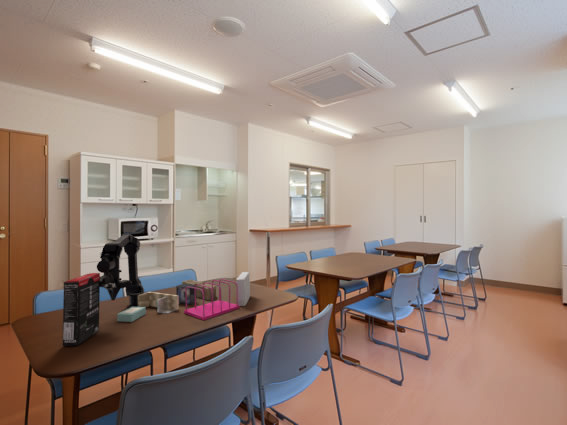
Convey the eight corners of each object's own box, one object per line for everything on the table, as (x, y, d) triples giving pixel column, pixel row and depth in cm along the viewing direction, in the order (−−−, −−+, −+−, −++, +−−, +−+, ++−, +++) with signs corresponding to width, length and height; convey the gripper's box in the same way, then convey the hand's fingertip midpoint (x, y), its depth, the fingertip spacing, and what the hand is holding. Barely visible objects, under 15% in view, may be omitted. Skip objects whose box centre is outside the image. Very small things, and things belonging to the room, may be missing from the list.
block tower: (217, 299, 196) (191, 290, 215) (217, 286, 196) (192, 278, 215) (207, 301, 190) (181, 292, 209) (207, 288, 190) (182, 280, 209)
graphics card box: (85, 331, 142) (85, 272, 142) (101, 330, 142) (100, 272, 142) (62, 347, 125) (61, 281, 125) (79, 346, 125) (79, 280, 125)
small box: (175, 303, 184) (175, 285, 184) (182, 300, 190) (182, 283, 190) (189, 305, 180) (189, 287, 180) (196, 301, 186) (196, 284, 186)
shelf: (137, 309, 173) (137, 295, 173) (149, 305, 180) (149, 291, 180) (167, 314, 164) (167, 299, 164) (178, 309, 172) (178, 295, 172)
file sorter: (183, 313, 165) (183, 285, 165) (220, 302, 185) (219, 277, 185) (203, 320, 155) (203, 290, 154) (239, 308, 174) (239, 281, 174)
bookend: (157, 312, 167) (157, 299, 167) (166, 308, 174) (166, 296, 174) (167, 314, 165) (167, 301, 165) (176, 310, 171) (176, 297, 171)
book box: (117, 321, 154) (117, 313, 154) (132, 313, 166) (132, 306, 166) (131, 322, 153) (131, 314, 153) (145, 314, 165) (145, 307, 165)
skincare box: (242, 296, 199) (242, 271, 199) (250, 296, 199) (250, 271, 199) (236, 306, 178) (235, 279, 178) (245, 306, 178) (245, 279, 178)
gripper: (83, 270, 145) (84, 302, 146) (111, 273, 138) (111, 307, 138) (105, 266, 156) (105, 296, 156) (132, 268, 149) (132, 300, 149)
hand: (113, 300), depth 149 cm, fingers closed
